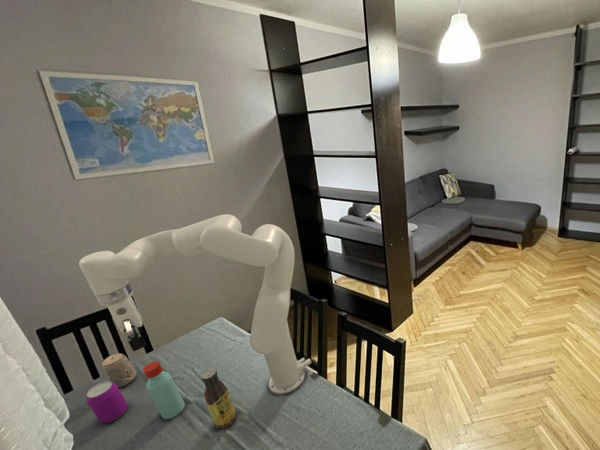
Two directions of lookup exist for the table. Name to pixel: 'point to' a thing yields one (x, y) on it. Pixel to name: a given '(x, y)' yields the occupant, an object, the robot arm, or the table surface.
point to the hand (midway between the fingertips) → (138, 340)
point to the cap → (152, 369)
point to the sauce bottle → (218, 399)
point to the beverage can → (106, 401)
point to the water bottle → (165, 395)
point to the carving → (119, 370)
